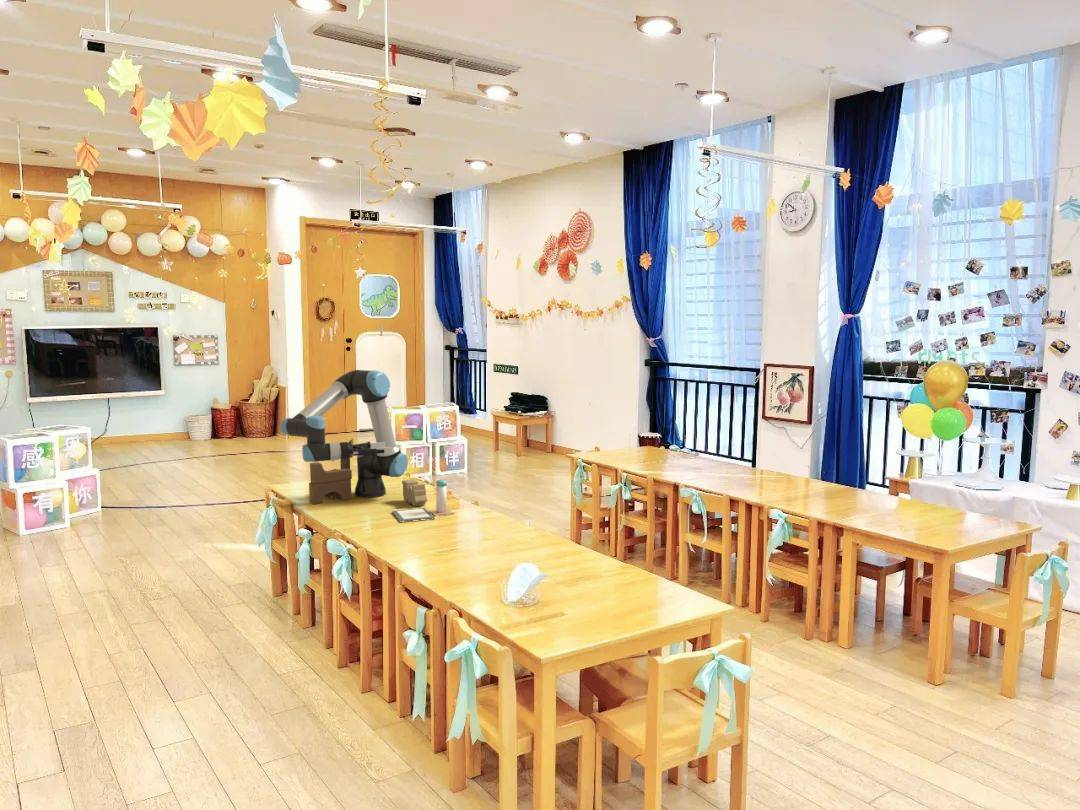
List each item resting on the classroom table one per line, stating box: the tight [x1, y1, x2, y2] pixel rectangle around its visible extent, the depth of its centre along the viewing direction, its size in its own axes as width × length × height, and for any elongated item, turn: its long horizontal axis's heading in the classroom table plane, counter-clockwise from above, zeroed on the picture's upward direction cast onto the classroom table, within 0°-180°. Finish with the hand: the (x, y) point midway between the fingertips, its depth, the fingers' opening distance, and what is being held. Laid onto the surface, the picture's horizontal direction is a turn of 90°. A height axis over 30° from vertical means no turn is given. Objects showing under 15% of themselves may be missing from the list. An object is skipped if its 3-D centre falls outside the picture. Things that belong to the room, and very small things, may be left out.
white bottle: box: [435, 479, 448, 513], centre depth 357 cm, size 5×5×14 cm
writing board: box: [391, 507, 436, 523], centre depth 353 cm, size 18×15×1 cm
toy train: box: [401, 479, 428, 507], centre depth 375 cm, size 6×17×10 cm, turn 31°
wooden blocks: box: [308, 438, 354, 505], centre depth 385 cm, size 24×20×28 cm
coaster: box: [428, 507, 455, 517], centre depth 358 cm, size 9×9×1 cm
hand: (388, 447), depth 353 cm, fingers open, 13 cm apart
